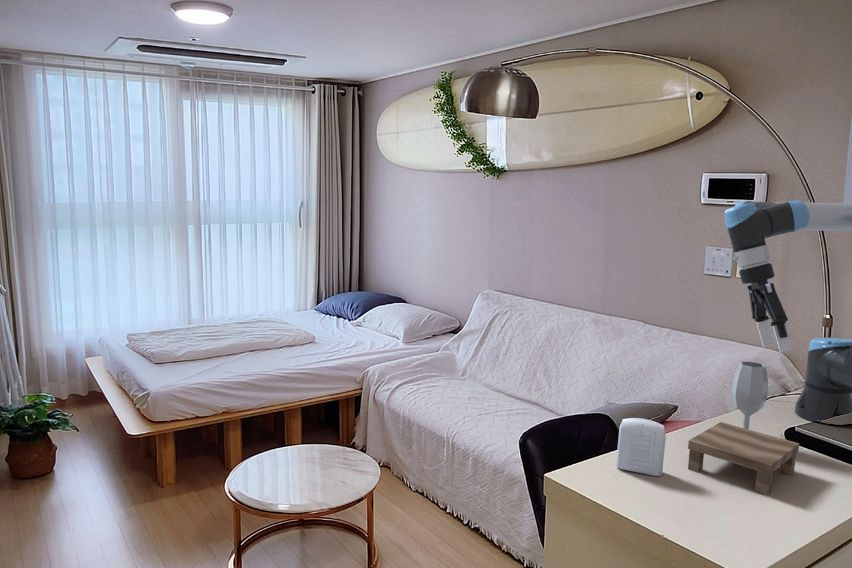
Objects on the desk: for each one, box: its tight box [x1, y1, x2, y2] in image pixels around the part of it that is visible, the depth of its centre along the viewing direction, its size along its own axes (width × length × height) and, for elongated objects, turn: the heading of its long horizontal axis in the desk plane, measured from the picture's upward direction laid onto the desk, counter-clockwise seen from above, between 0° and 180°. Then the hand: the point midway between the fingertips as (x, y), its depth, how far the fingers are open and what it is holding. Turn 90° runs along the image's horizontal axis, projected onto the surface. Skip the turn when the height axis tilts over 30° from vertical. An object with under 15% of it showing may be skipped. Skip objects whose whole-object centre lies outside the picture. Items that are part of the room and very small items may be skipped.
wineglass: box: [731, 360, 769, 430], centre depth 171 cm, size 9×9×21 cm
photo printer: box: [615, 417, 667, 477], centre depth 154 cm, size 10×4×12 cm, turn 67°
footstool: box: [687, 421, 800, 496], centre depth 155 cm, size 18×18×7 cm
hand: (777, 348), depth 166 cm, fingers open, 13 cm apart
